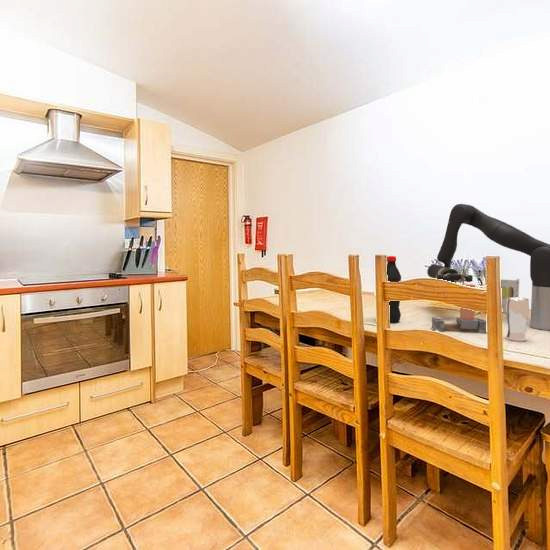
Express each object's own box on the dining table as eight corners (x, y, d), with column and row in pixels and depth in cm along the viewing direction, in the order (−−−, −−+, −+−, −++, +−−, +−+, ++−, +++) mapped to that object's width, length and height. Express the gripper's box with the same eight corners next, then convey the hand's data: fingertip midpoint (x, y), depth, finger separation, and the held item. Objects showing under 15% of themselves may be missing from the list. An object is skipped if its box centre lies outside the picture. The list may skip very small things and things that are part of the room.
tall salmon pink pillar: (472, 325, 147) (473, 283, 145) (477, 329, 140) (479, 285, 139) (456, 324, 148) (457, 283, 146) (461, 328, 141) (462, 285, 140)
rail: (480, 328, 146) (481, 316, 146) (487, 333, 140) (488, 320, 139) (431, 327, 150) (431, 315, 149) (436, 332, 143) (436, 319, 143)
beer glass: (504, 340, 130) (506, 299, 128) (504, 335, 136) (506, 296, 134) (527, 342, 126) (529, 300, 125) (527, 338, 132) (529, 297, 130)
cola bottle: (377, 321, 164) (377, 256, 161) (387, 318, 169) (388, 255, 166) (394, 324, 157) (394, 256, 154) (404, 321, 163) (405, 255, 160)
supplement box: (492, 312, 179) (493, 278, 178) (496, 309, 186) (497, 277, 184) (515, 314, 173) (516, 279, 171) (518, 311, 179) (519, 278, 178)
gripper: (432, 267, 170) (441, 271, 154) (464, 267, 167) (477, 271, 152) (431, 283, 171) (440, 288, 155) (463, 283, 168) (476, 288, 152)
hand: (458, 279), depth 153 cm, fingers open, 8 cm apart
